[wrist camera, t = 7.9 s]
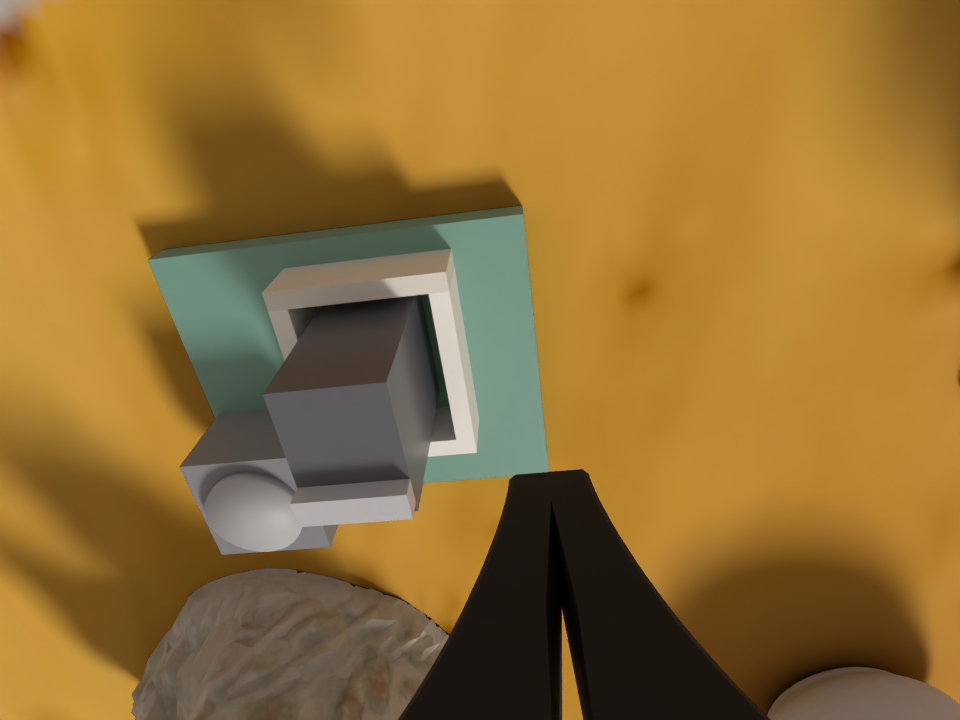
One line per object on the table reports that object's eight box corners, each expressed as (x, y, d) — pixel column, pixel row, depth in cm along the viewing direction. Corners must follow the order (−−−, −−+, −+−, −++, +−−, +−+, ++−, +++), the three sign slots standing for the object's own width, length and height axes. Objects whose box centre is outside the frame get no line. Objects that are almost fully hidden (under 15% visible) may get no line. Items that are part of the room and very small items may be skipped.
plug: (419, 284, 19) (381, 396, 13) (439, 389, 21) (415, 527, 15) (328, 294, 19) (253, 408, 13) (357, 397, 21) (301, 535, 15)
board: (522, 205, 19) (526, 251, 15) (547, 456, 23) (555, 540, 20) (163, 249, 20) (80, 303, 16) (257, 480, 25) (211, 564, 21)
